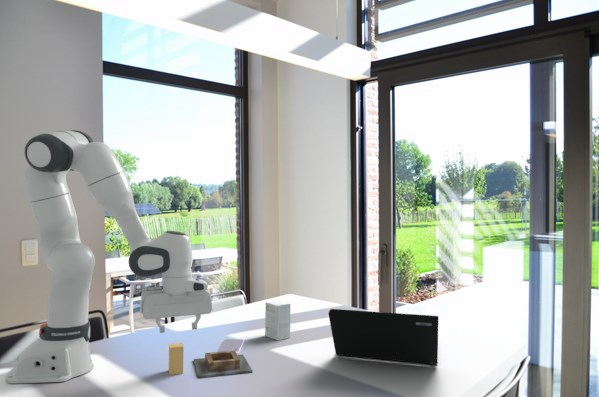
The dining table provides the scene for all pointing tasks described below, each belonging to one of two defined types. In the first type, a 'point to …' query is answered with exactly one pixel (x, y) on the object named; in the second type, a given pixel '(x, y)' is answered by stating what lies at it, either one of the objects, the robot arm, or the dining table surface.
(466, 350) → the dining table surface
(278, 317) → the small box
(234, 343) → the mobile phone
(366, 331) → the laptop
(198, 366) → the socket board
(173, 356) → the plug block
